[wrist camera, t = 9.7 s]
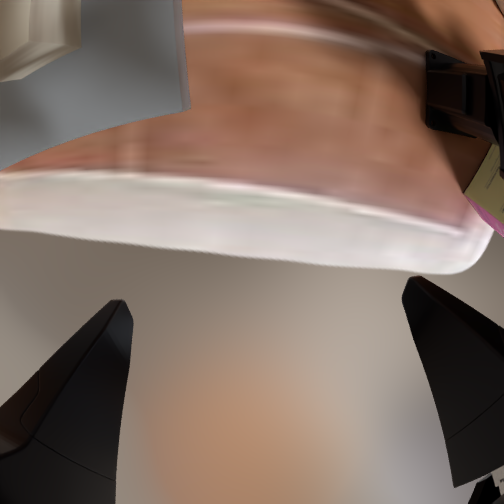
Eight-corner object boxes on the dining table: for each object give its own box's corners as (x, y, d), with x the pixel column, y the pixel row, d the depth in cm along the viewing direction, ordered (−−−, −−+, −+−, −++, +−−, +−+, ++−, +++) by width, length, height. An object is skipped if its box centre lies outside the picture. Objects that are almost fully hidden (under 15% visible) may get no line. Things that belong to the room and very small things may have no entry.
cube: (82, -17, 7) (37, -38, 2) (81, 47, 9) (28, 41, 5) (21, 18, 6) (-28, 14, 2) (21, 79, 9) (-33, 89, 5)
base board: (179, -77, 6) (172, -96, 4) (191, 108, 15) (182, 111, 12) (2, 5, 6) (-19, 3, 3) (12, 163, 15) (-10, 176, 12)
